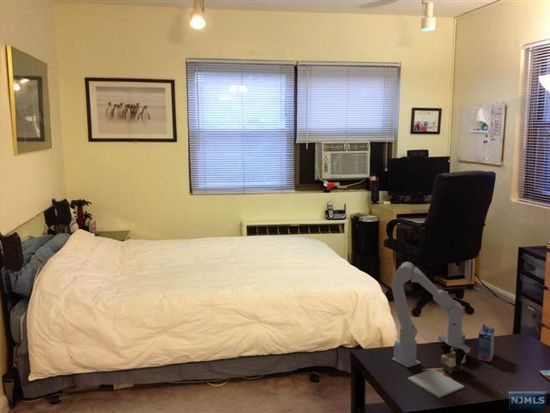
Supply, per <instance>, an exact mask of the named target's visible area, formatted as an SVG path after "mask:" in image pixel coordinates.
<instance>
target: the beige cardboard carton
mask: <svg viewBox="0 0 550 413" xmlns="http://www.w3.org/2000/svg"><path fill="white" fill-rule="evenodd" d="M440 357H441V358H440V363H441V364H442V371H443V372H447V371H448V372H447V373H449V374H448V375H453V368H457V367H458V370H459V371H463V364H464V363H466V355H465V356H464V357H463V360H462V362H461V365H459V366H456V355H455V352H451V353H448V354H445V355H444V354H442V355H441V356H440ZM447 369H448V370H447Z"/></svg>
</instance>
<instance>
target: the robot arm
mask: <svg viewBox="0 0 550 413" xmlns="http://www.w3.org/2000/svg"><path fill="white" fill-rule="evenodd" d="M410 280H411V281H410ZM409 281H410V282H411V283H418V284H419V285H421V287H423V288H424V289H425V290H426V291H427V292H429V293H430V294H431V295H432V298H433V301H434V302H436V303H437V304H438V306H439V307H441V309H443V310H444V311H445V312H446V314H447V316H448V319H447V326H446V336H445V335H438V339H437V340H438V341H439V342H441V343H440V344H439V345H440V347H441V349H442V352H443V355H445V354H448V353H451V348H452V346H453V347H456V348H458V349H457V350H455V351H454V352H455V355H456V366H457V367H459V365H461V362H462V360H463V357H464V356H465V357H466V354H469V353H470V352H471V347H470V346H468V345H466V344H465V342H464V343H462V340H461V338H462V332H463V317H464V316H463V315H464V314H463V312H464V308H463V305H462V304H461V302H459V301H457V300H454V299H453V298H452V297H451V296H450V295H449V292H448V291H447V290H444V289H439V288H438V287H437V286H436V285H435V284H434V283H433V282H432V281H431V280H430V279H429V277H427V276H426V275H425V274H424V273H423V272H422V271H421V270H420V269H419V268H418V267H417V266H415V264H414V263H412V262H410V261H405V262H402V263H401V264H400V265H399V266H398V268H397V269H396V271H395V272H394V275H393V277H392V280H391V282H390V288H391V291H392V296H393V299H394V303H395V304H394V305H395V310H396V313H397V317H398V320H399V332H400V333H399V338H398V339H396V341H395V342H394V344H393V357H392V360H393V361H395V362H397V363H399V364H401V365H402V366H404V367H406V368H410V367H414V366H416V365H419V364H422V363H421V361H419V360H417V349H418V348H417V346H418V345H417V340H416V337H417V335H418V329H417V328H416V327H415V325H414V321H413V320H412V318H411V314H410V310H409V306H408V301H407V297H406V293H405V289H404V288H405V287H404V285H405V284H406V283H407V282H409Z"/></svg>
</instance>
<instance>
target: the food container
mask: <svg viewBox="0 0 550 413" xmlns="http://www.w3.org/2000/svg"><path fill="white" fill-rule="evenodd" d="M461 340H462V343H464V344H465V341H466V335H465V333H464V332H463V331H462V338H461ZM457 349H458V348H456V347H453V346H452V348H451V352H454V351H455V350H457Z"/></svg>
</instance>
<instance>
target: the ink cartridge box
mask: <svg viewBox="0 0 550 413" xmlns="http://www.w3.org/2000/svg"><path fill="white" fill-rule="evenodd" d="M477 350H478V351H477V353H478V355H477V357H478V358H477V359H478V360H480V361H485V362H489V363H490V362H492V359H493V357H494V354H495V328H494V327H489V326H486V324H485V323H484V324H483V325H482V327H481V328H480V331H479V332H478V349H477Z"/></svg>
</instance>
